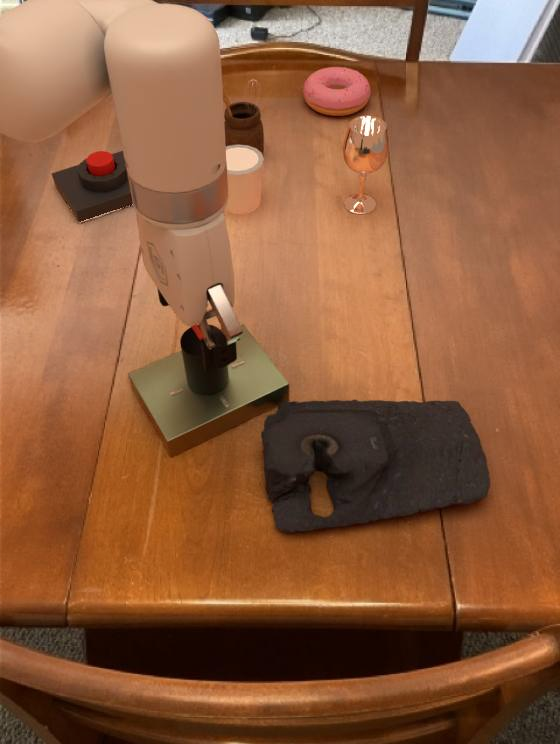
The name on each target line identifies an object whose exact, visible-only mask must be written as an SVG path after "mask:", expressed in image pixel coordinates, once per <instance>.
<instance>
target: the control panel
mask: <svg viewBox="0 0 560 744" xmlns="http://www.w3.org/2000/svg"><path fill="white" fill-rule="evenodd" d="M241 326H242V329H243V334H242V335H241V337H240V340H238V341H236V351H237V359H236V360H235V361H234V362H232V363H230V364H229V365H228V373H229V380H228V383H227V384H226V386H225V387H224V388H223V389H222V390H220V391H219V392H217V393H214V394H207V395H206V394H199V393H197V392H195V391H193V390H192V389H191V388H190V387H189V385H188V383H187V378H186V373H185V367H184V362H183V356H182V351H181V350H179V351H177V352H175V353H171V354H170V355H167V356H165V357H163V358H161V359H158V360H156V361H153V362H152V363H149V364H147V365H144V366H142V367H140V368H137V369H135V370H133V371H131V372H128V373H127V376H128V379H129V384H130V386H131V390H132V392H133V394H134V396H135V397H136V400H137V401H138V402H139V404H140V406H141V408H142V410H143V411H144V413H145V415H146V416H147V419H148V420H149V421H150V424H151V426H152V427H153V428H154V430H155V432H156V434H157V436H158V437H159V439H160V441H161V442H162V444H163V446H164V448H165V449H166V451H167V453H168V456H170V458H174V457H175V456H177V455H180V454H182V453H183V452H186V451H187V450H190V449H191V448H193V447H196V446H198V445H200V444H202V443H204V442H206V441H209V440H210V439H212V438H214V437H217V436H219V435H221V434H223V433H225V432H227V431H229V430H232V429H233V428H235V427H237V426H240V425H242V424H243V423H246V422H248V421H249V420H252V419H254V418H256V417H258V416H260V415H262V414H264V413H266V412H268V411H271V410H272V409H275V408H277V407H278V406H279V404H281V403H282V402H285V401H288V402H290V382H289V381H288V380H287V379H286V377H285V376H284V374H283V373H282V372H281V371H280V369H279V367H277V366H276V364H275V363H274V362H273V360H272V359H271V358H270V357H269V355H268V354H267V352H266V351H265V349H264V348H262V345H260V343H259V342H258V341H257V340H256V338H255V336H253V334H252V333H251V332H250V330H249V329H248V328H247V326H246V325H245V324H244V323H242V324H241Z"/></svg>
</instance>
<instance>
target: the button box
mask: <svg viewBox="0 0 560 744" xmlns="http://www.w3.org/2000/svg"><path fill="white" fill-rule="evenodd" d="M111 154H112V156H113V159H114V163H115V171H114V172H113V173H111V174H108V175H105V176H93V175H91V174H90V172H89V169H88V165H87V161H86V159H87V157H86V158H84V160H82V161H81V162H80V163H79V164H76V165H73V166H70V167H67V168H64V169H61V170H58V171H54V172H52V173H51V177H52V179H53V183H54V186H55V185H56V186H57V188H58V189H57V188H56V189H57V191H58V190H59V191H60V193H61V194H62V196H63V197H64V199H65V200H64V199H63V200H64V202H65V201H66V202H67V203H66V202H65V203H66V204H68V205H69V207H70V208H69V207H68V208H69V210H70V209H71V210H72V211H71V210H70V211H71V213H72V212H73V213H74V214H73V213H72V214H73V216H74V215H75V216H74V218H75V217H76V218H77V219H76V218H75V219H76V221H77V220H78V221H79V222H81V221H84V220H86V219H90V218H93V217H95V216H99V215H101V214H104V213H107V212H110V211H113V210H117V209H120V208H123V207H126V206H129V205H132V204H133V201H132V195H131V190H130V185H129V180H128V174H127V169H126V165H125V159H124V154H123V150H120V151H118V152H117V151H116V152H114V153H111ZM56 186H55V187H56ZM59 191H58V192H59ZM60 193H59V194H60ZM61 194H60V195H61ZM62 196H61V197H62ZM63 197H62V198H63ZM68 205H67V206H68ZM78 221H77V222H78ZM79 222H78V223H79Z"/></svg>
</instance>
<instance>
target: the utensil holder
mask: <svg viewBox="0 0 560 744" xmlns="http://www.w3.org/2000/svg"><path fill="white" fill-rule="evenodd" d="M251 82H252V85H251V87H253V89H255V86H256V85H259V87H258V86H256V88H257V91H256V94H259V95H257V98H256V100H255V102H260V100H261V98H260V96H261V95H262V94H261V93H262V91H261V88H262V86H261V84H260V82H259V80H257V79H255V78H251V79H248V82H247V83H248V84H244V87H245V89H243V90H244V91H243V94H244V98H246V99H247V101H246V99H243V100H244V101H236V102H233V103H231V102H230V100H229V96H228V94H227V91H226V89H225V86H224V85H223V84H222V89H223V104H224V105H225V108H224V126H225V144H226V147H227V146H231V145H248V146H251V147H253V148H256V149H257V150H259V151H260V152H261V153H262V155H263V156H264V149H265V139H264V135H265V134H264V123H263V121H262V120H261V118H262V117H261V116H262V115H261V109H260V108H259V107H258V105H257V103H255V104H254V103H253V100H254V99H252V97H254V95H255V92H253V89H251V91H250V93H252V92H253V94H252V97H250V99H249V98H248V95H249V92H246V90H248V88H249V87H250V83H251ZM254 83H255V84H254ZM251 99H252V101H251ZM250 101H251V102H250Z"/></svg>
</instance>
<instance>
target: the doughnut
mask: <svg viewBox="0 0 560 744" xmlns="http://www.w3.org/2000/svg"><path fill="white" fill-rule="evenodd" d="M301 89H302V93H303V97H304V100H305V102H306V104H307V105H308V106H309V107H310V108H311V109H312V110H314V111H316V112H318V113H319V114H322V115H326V116H332V117H343V116H349V115H353V114H355V113H357V112H359V111H361V110H362V109H363V108H364V107H366V105H367V103H368V102H369V99H370V97H371V94H372V93H371V92H372V91H371V90H372V89H371V85H370V83H369V81H368V78H366V76H364V75H363V74H362V72H361V71H360V72H359V71H358V70H357V69H356V70H355V69H352V68H348V67H345V66H344V67H341V66H330V67H324V68H321V69H318V70H316V71H315V72H311V73H310V75H309V76H308V78H307V79H306V80H304V85H303V86H302V88H301Z"/></svg>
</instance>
